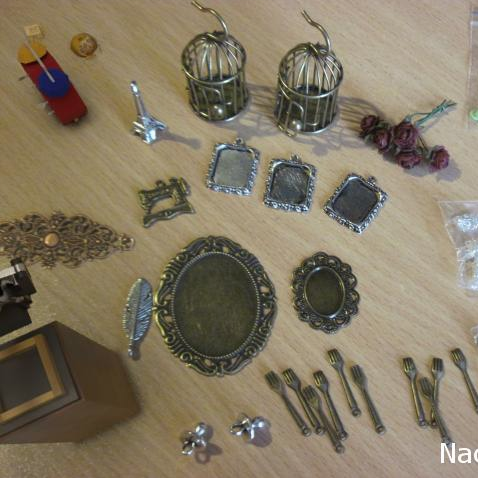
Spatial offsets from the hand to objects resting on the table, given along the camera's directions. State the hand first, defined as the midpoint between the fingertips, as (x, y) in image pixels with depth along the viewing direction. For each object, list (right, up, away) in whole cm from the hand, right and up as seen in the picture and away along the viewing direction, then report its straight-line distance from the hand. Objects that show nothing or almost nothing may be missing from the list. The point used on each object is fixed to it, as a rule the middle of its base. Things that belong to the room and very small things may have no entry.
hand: (1, 312), depth 69 cm
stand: (-2, -21, +36) cm, 42 cm away
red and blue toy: (-19, +38, +56) cm, 70 cm away
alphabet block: (-27, +57, +62) cm, 88 cm away
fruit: (-14, +53, +62) cm, 83 cm away
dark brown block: (0, 0, +1) cm, 1 cm away
